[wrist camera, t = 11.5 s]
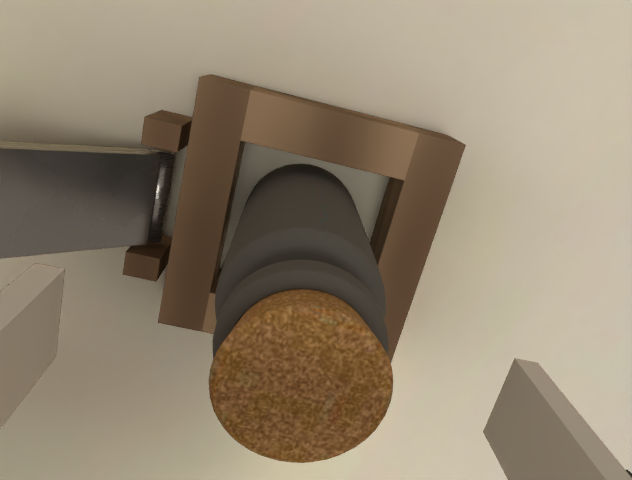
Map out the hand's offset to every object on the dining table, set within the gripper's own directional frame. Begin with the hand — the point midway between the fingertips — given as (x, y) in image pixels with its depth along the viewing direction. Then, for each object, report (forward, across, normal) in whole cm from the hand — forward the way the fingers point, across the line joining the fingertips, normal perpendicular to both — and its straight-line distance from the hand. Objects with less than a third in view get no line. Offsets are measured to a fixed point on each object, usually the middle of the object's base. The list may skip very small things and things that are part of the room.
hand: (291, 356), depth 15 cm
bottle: (+13, 0, 0) cm, 13 cm away
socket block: (+13, +1, 0) cm, 13 cm away
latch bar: (+8, -11, 0) cm, 14 cm away
